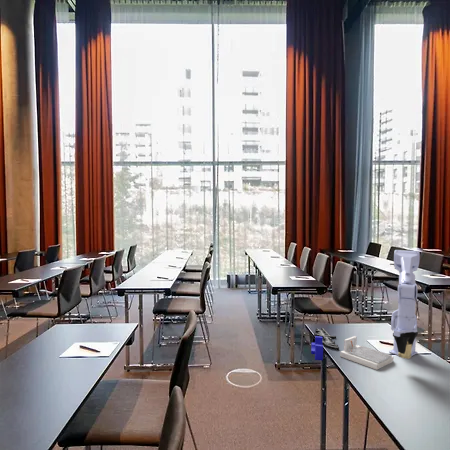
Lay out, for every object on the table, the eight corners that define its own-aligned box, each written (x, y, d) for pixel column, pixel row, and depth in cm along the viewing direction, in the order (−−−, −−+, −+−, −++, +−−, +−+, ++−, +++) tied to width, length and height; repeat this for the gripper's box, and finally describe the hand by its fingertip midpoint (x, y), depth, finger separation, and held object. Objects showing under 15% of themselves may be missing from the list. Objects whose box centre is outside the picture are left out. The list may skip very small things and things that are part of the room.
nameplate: (347, 347, 163) (324, 347, 162) (347, 351, 163) (324, 351, 162) (327, 327, 190) (308, 327, 190) (327, 330, 190) (308, 330, 190)
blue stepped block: (311, 349, 163) (311, 335, 163) (321, 350, 162) (322, 336, 162) (311, 359, 152) (311, 345, 152) (322, 361, 151) (323, 346, 151)
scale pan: (362, 347, 160) (362, 345, 160) (391, 357, 150) (391, 355, 150) (348, 352, 154) (348, 350, 154) (378, 363, 144) (379, 361, 144)
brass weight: (401, 353, 145) (402, 337, 145) (413, 356, 142) (413, 341, 141) (395, 355, 142) (396, 340, 142) (407, 359, 139) (408, 343, 139)
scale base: (357, 349, 164) (357, 334, 163) (393, 361, 151) (394, 345, 151) (340, 356, 155) (340, 340, 155) (376, 369, 143) (377, 352, 143)
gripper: (408, 321, 134) (406, 359, 134) (425, 315, 143) (424, 350, 143) (388, 317, 139) (387, 353, 140) (407, 311, 148) (405, 344, 149)
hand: (404, 351), depth 142 cm, fingers closed on brass weight, 4 cm apart
